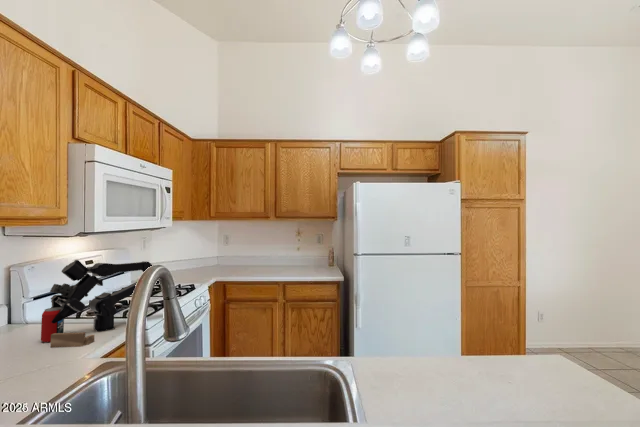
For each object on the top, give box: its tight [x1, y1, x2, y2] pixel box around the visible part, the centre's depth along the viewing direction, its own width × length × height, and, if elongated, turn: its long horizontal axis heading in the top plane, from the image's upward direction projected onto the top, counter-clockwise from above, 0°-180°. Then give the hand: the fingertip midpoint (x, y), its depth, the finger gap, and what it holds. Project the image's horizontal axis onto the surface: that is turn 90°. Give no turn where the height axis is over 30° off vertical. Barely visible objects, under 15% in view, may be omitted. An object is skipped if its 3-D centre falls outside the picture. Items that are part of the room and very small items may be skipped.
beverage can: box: [40, 307, 65, 344], centre depth 128 cm, size 7×7×12 cm
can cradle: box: [50, 332, 95, 348], centre depth 122 cm, size 6×12×4 cm, turn 93°
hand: (48, 321), depth 126 cm, fingers open, 7 cm apart
